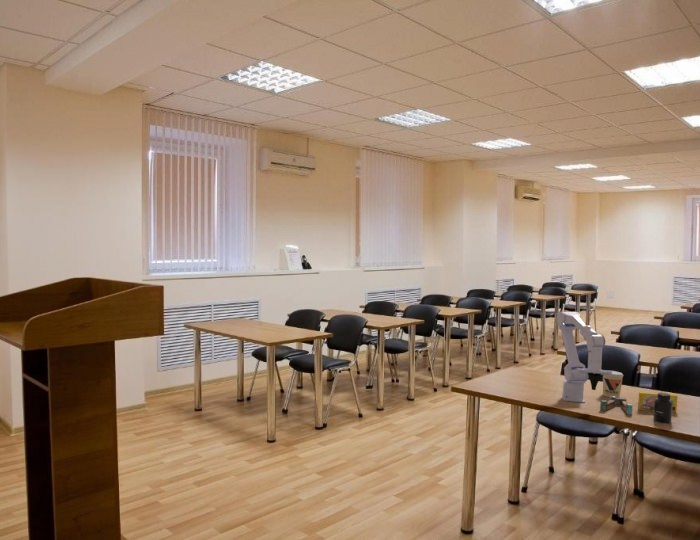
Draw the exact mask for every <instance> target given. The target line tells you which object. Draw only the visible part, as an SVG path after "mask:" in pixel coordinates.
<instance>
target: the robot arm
mask: <svg viewBox="0 0 700 540" xmlns="http://www.w3.org/2000/svg"><path fill="white" fill-rule="evenodd" d="M556 321H557V325H558V330H560V331H561V336H562V341H563V345H564V350H565V353H566V358H567V362H568V363H567V364H566V365H565V366H564V367H563V370H564V371H563V372H564V374H563V375H564V379H565V380H566V381H565V380H564V381H563V382H562V383H563V385H562V399H563V401H565V402H573V403H585V402H586V401H585V399H584V389H585V388H584V387H585V384H586V382H587V381H588V379H589V381H590V386H591V390H592V391H596V389H597V386H598V383H599V382H600V380H601V377H602V376H603V375H609V376H612V371H613V370H608V371H607V370H606V369H602V364H603V363H602V362H603V361H602V360H603V358H602V357H603V347H605V346H606V337H605V336H604V334H600V333H598V332H596V330H595V329H593V328H592V325H588V324H587V325H586V324H585V322H584V321H583V320H582V315H581V313H580V312H578V311H559V312H558V314H557V318H556ZM577 329H578V330H579V333H580V335H581V337H583V339H584V340H586V341H585V342H586V347H587V351H588V357H587V368H586V365H585V364H584V363H582V362H580V358H579V354H578V349H577V347H576V346H577V345H576V341H575V337H574V334H573V331H575V330H577Z"/></svg>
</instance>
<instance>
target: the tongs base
mask: <svg viewBox="0 0 700 540" xmlns="http://www.w3.org/2000/svg"><path fill="white" fill-rule="evenodd" d="M609 400H614V401H615V406H620V407H621V408H622V409H623V411H624V412H625V414H626V413H627V414H628V415H629V416H632V415H633V404H632V403H628V401H627V398H624V397H619V398H617V397H616V396H611V397H609ZM627 414H626V415H627Z"/></svg>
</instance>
